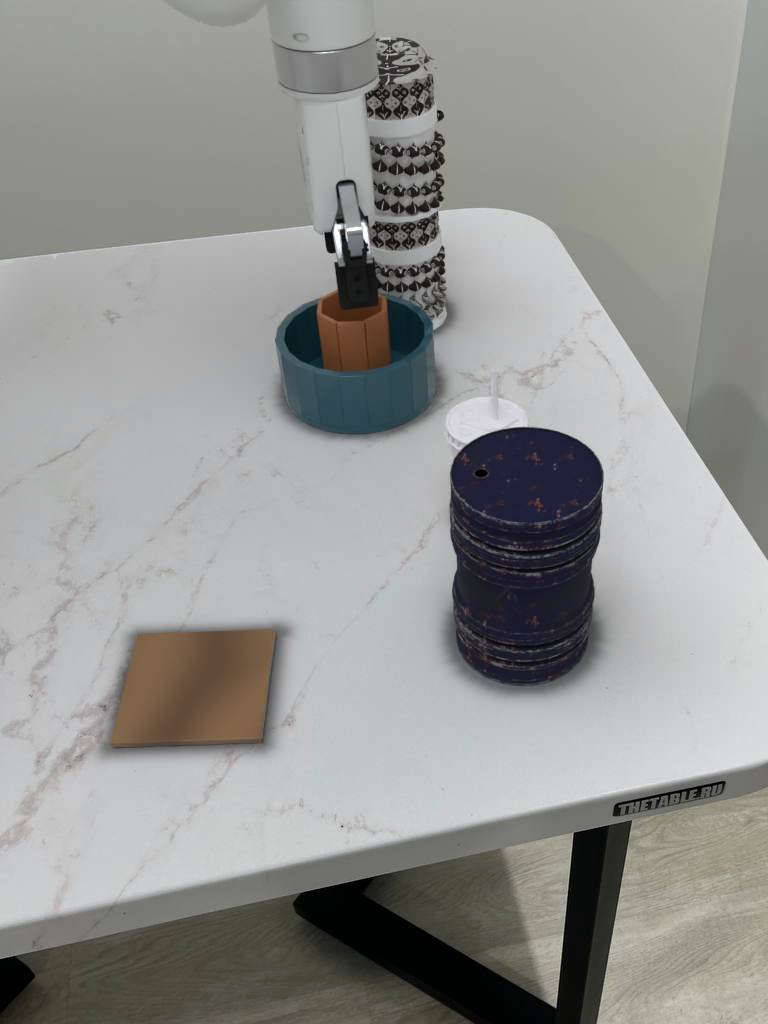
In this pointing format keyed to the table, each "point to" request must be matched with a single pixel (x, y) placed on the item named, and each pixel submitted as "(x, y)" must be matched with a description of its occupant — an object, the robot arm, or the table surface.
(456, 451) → the smoothie
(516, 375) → the table surface
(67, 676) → the table surface
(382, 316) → the small pot
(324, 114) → the robot arm
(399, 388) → the big pot
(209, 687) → the trivet
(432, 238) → the decorative candle
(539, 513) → the navy ridged cylinder
